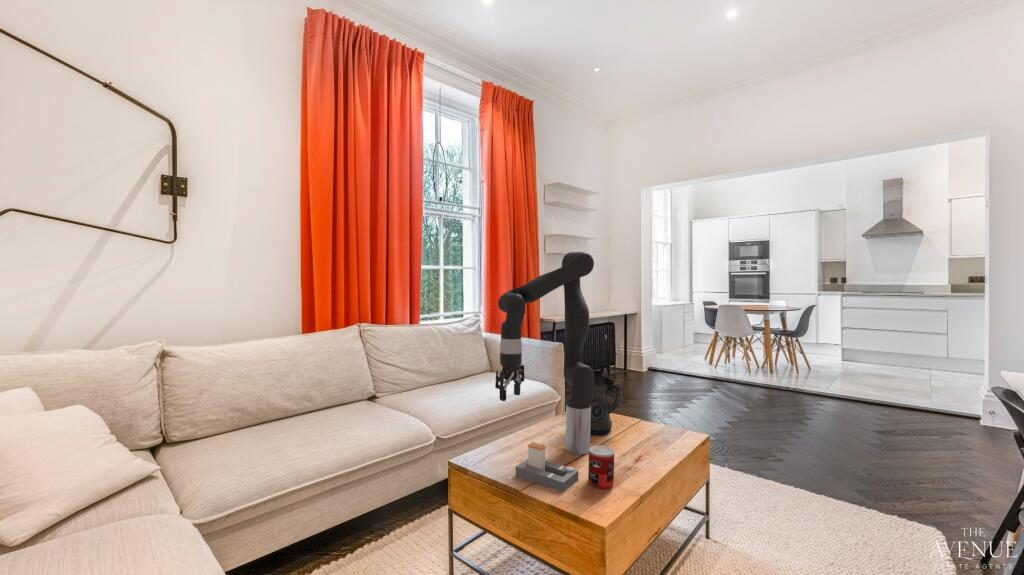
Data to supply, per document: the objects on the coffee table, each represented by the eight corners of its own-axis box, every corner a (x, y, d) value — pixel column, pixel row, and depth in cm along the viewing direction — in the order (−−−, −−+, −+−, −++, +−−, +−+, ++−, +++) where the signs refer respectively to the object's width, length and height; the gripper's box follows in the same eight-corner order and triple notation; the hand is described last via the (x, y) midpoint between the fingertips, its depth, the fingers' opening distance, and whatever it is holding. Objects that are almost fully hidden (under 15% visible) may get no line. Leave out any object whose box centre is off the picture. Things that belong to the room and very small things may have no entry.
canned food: (585, 478, 141) (586, 445, 141) (609, 477, 142) (610, 445, 142) (591, 490, 134) (592, 455, 133) (616, 489, 134) (617, 455, 134)
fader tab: (532, 469, 147) (532, 442, 146) (545, 473, 144) (545, 445, 143) (527, 472, 144) (528, 444, 144) (540, 477, 141) (541, 448, 141)
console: (532, 464, 151) (532, 454, 151) (578, 479, 140) (578, 469, 140) (515, 475, 143) (515, 464, 143) (563, 492, 132) (563, 481, 132)
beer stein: (569, 422, 194) (571, 367, 193) (612, 422, 195) (613, 367, 194) (577, 436, 178) (579, 376, 177) (623, 436, 179) (625, 376, 178)
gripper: (508, 355, 140) (507, 404, 141) (531, 349, 152) (530, 394, 153) (489, 352, 144) (489, 400, 145) (513, 347, 156) (512, 391, 157)
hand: (510, 397), depth 149 cm, fingers open, 8 cm apart
